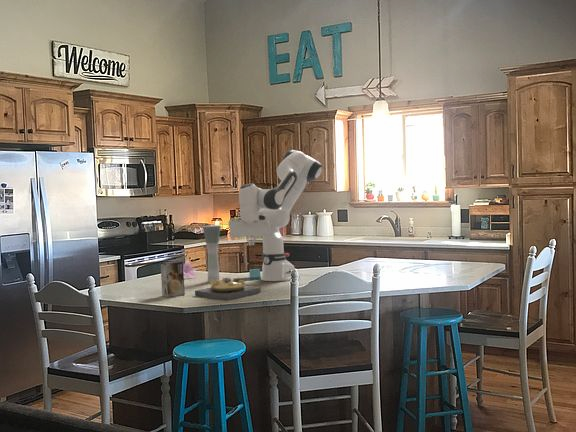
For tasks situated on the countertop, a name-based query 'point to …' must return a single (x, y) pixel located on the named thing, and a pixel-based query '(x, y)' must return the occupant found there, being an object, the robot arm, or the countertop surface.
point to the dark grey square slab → (227, 293)
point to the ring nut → (234, 282)
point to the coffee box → (172, 279)
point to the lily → (188, 270)
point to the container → (212, 251)
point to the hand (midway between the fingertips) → (251, 245)
